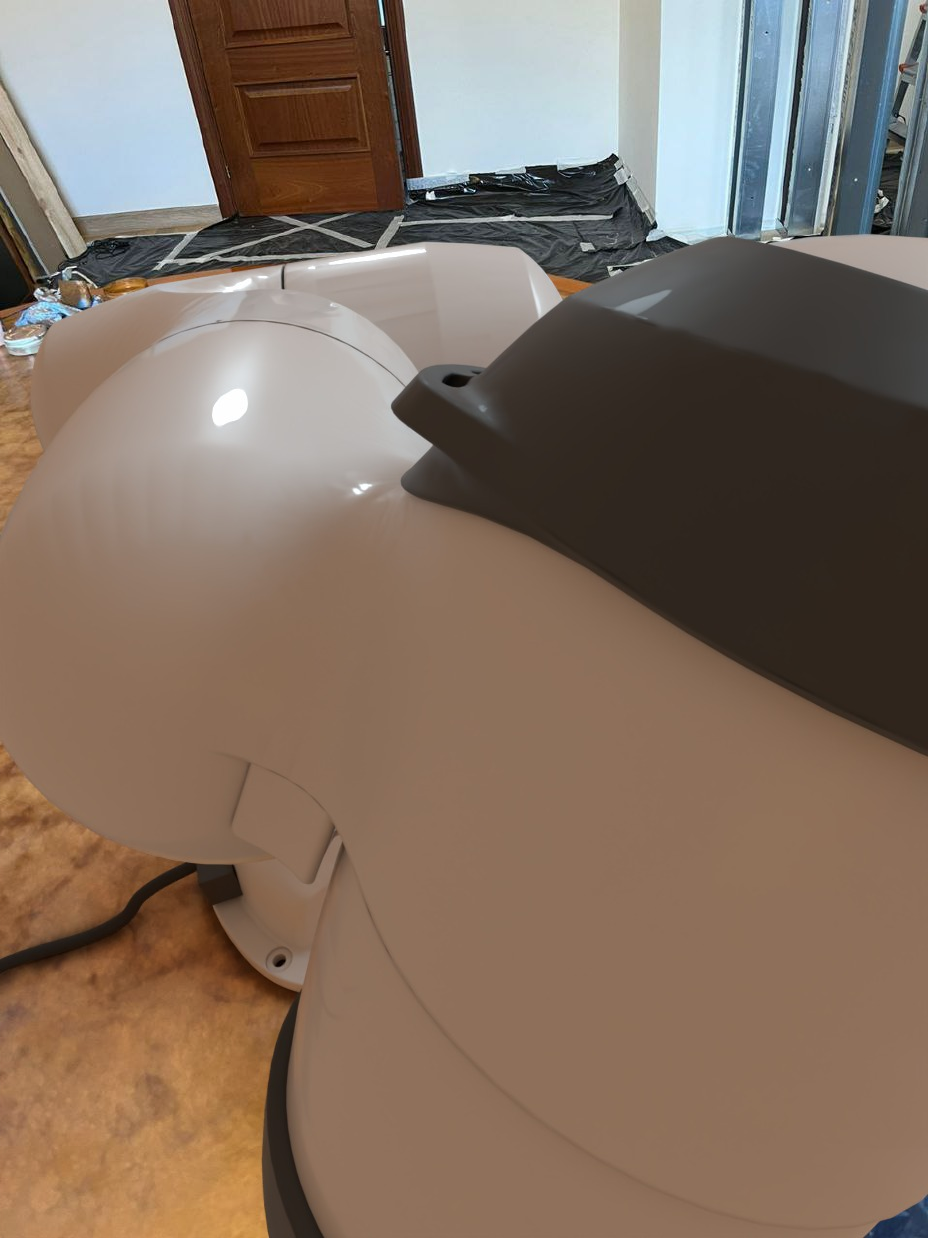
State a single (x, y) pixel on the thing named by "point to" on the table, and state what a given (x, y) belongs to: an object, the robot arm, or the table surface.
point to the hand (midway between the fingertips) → (670, 422)
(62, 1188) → the table surface
